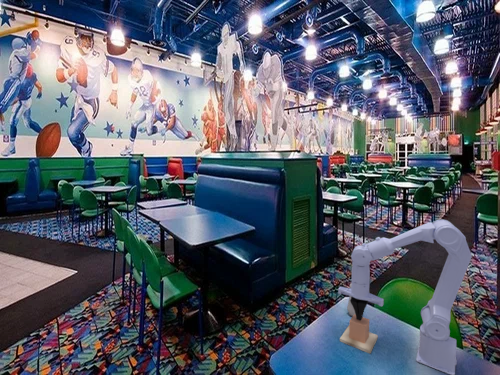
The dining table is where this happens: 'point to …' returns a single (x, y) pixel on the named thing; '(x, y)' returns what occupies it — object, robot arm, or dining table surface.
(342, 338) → the birch board
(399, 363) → the dining table surface
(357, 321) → the orange tan block
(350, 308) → the salt shaker
